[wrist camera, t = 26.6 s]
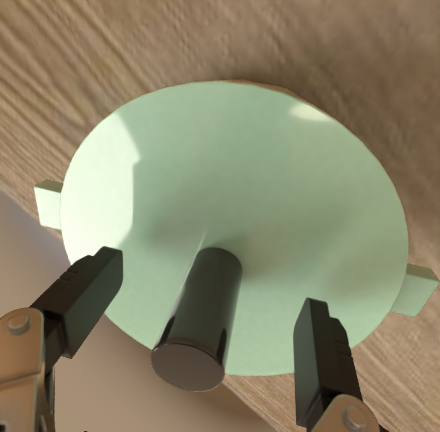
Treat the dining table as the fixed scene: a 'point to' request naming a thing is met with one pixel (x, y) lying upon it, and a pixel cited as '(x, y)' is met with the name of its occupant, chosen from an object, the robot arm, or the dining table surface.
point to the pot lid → (233, 226)
